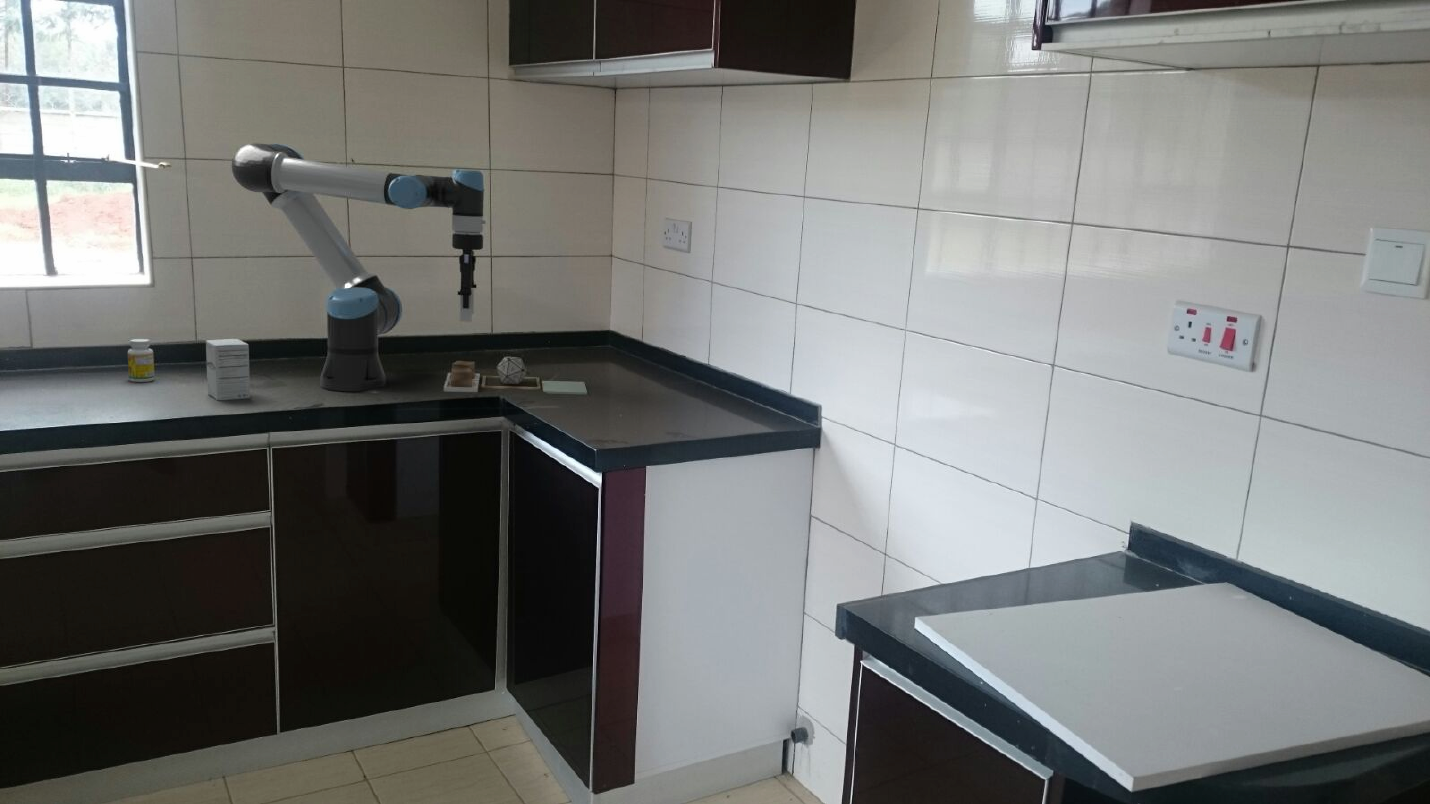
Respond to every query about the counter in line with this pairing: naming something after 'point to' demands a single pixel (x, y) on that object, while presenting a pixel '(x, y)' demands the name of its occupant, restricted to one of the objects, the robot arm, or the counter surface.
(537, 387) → the oak frame
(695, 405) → the counter surface
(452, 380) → the block front
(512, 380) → the game die
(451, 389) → the dish front
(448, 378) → the dish back
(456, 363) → the block back
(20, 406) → the counter surface
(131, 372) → the supplement bottle
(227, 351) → the supplement box
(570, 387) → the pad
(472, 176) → the robot arm
